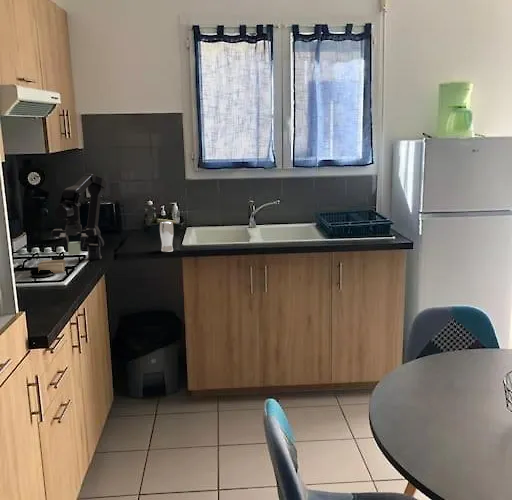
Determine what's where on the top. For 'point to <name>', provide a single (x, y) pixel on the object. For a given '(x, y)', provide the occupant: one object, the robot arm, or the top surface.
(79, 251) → the sage cube
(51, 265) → the oak block
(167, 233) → the beer glass
